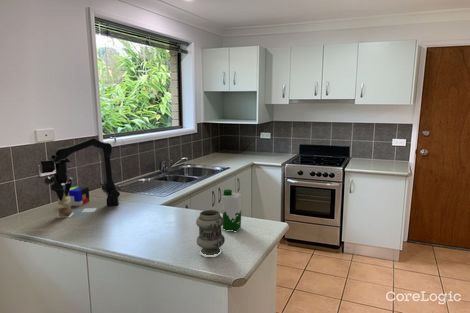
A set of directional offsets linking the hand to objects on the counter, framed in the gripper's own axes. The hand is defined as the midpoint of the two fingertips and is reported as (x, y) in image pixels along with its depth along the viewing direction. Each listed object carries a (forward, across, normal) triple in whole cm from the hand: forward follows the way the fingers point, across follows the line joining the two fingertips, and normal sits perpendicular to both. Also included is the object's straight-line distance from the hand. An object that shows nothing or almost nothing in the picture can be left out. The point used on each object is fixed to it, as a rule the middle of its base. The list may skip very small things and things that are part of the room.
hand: (63, 198), depth 188 cm
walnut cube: (+10, 0, 0) cm, 10 cm away
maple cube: (+5, 0, 0) cm, 5 cm away
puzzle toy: (+11, -23, 0) cm, 26 cm away
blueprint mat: (+11, -3, +5) cm, 12 cm away
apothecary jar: (+11, +60, +77) cm, 98 cm away
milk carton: (+11, +35, +90) cm, 97 cm away
